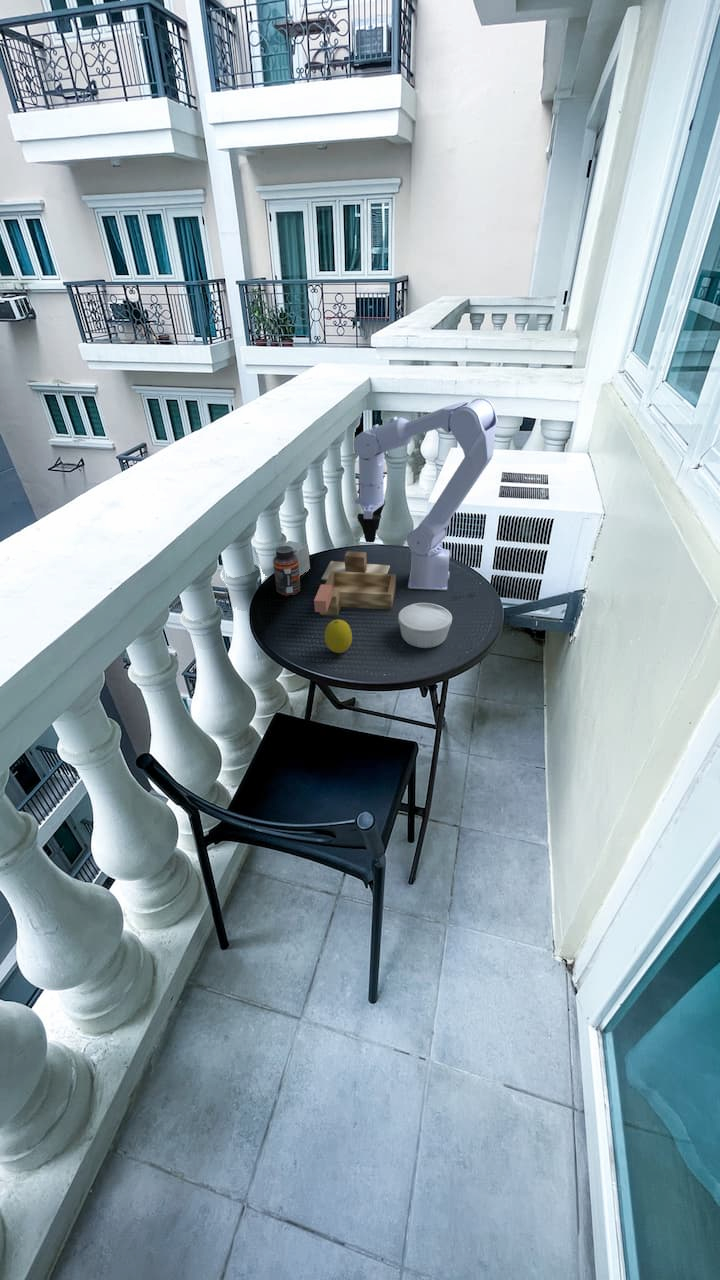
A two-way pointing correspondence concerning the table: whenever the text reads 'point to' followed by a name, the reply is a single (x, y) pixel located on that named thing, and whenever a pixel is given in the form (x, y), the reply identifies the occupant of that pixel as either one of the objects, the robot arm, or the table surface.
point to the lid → (355, 565)
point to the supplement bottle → (286, 571)
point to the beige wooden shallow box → (360, 591)
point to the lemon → (338, 636)
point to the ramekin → (424, 624)
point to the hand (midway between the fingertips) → (372, 535)
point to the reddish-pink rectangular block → (323, 598)
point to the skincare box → (300, 555)
